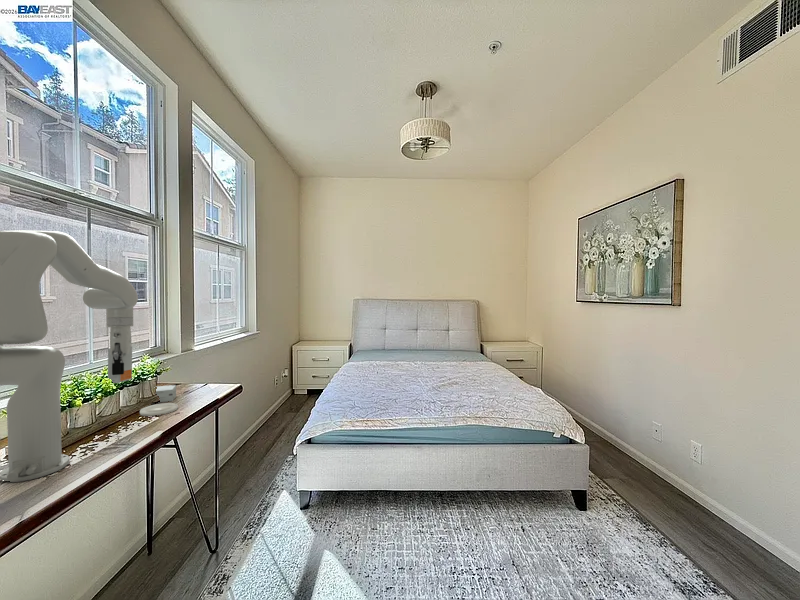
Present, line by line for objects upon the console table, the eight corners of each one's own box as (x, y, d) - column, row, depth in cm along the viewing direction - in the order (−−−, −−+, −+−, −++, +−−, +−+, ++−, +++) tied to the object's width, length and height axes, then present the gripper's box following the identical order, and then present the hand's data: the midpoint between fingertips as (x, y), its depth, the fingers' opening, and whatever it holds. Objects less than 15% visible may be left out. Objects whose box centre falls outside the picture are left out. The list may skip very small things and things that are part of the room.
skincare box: (119, 383, 125) (119, 348, 125) (107, 383, 125) (107, 348, 125) (132, 379, 131) (132, 346, 131) (121, 379, 131) (121, 346, 131)
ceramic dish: (177, 413, 134) (177, 410, 134) (137, 418, 128) (137, 415, 128) (178, 403, 144) (178, 401, 144) (142, 408, 138) (142, 405, 138)
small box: (150, 403, 144) (150, 391, 144) (155, 398, 152) (155, 386, 152) (172, 401, 147) (172, 389, 147) (176, 396, 155) (176, 384, 154)
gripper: (129, 323, 122) (129, 376, 122) (137, 320, 137) (137, 367, 137) (100, 324, 118) (100, 378, 118) (112, 321, 133) (112, 369, 134)
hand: (120, 372), depth 128 cm, fingers closed on skincare box, 7 cm apart
